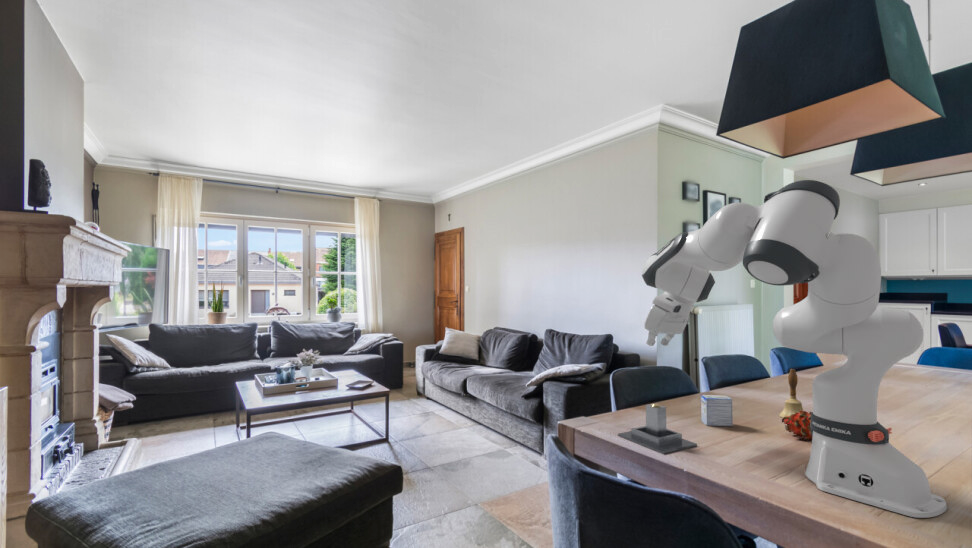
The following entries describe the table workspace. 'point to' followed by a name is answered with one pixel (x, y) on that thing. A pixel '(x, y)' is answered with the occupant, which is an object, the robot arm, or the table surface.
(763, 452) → the table surface
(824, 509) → the table surface
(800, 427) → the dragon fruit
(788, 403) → the hand bell
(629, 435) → the rectangular socket base
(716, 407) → the medicine box
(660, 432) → the nut block
